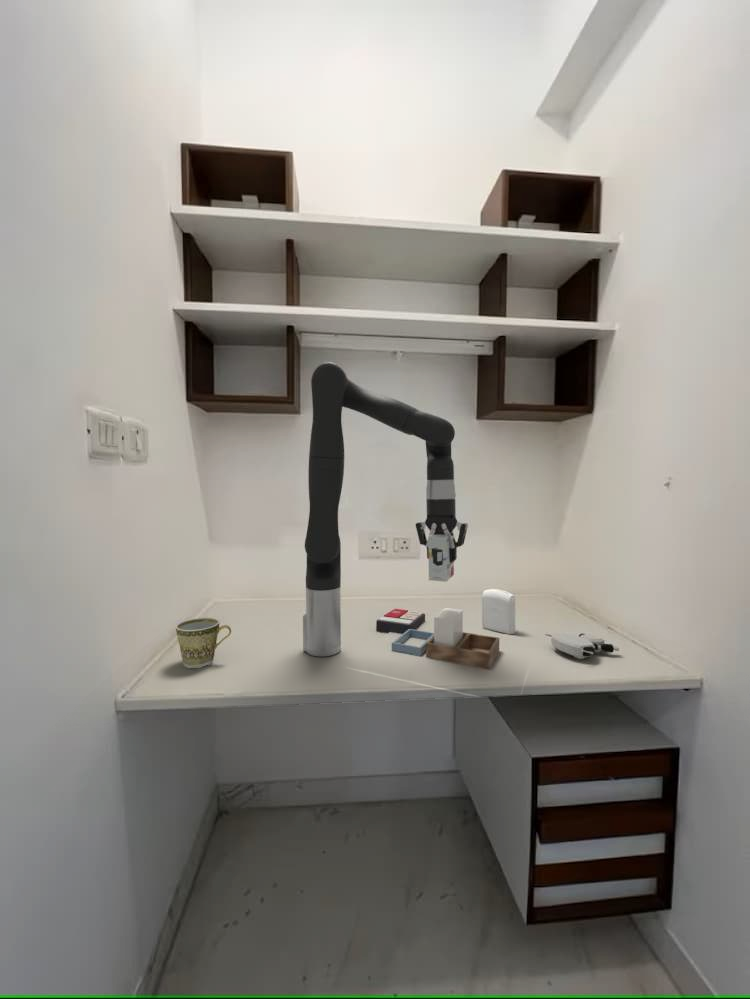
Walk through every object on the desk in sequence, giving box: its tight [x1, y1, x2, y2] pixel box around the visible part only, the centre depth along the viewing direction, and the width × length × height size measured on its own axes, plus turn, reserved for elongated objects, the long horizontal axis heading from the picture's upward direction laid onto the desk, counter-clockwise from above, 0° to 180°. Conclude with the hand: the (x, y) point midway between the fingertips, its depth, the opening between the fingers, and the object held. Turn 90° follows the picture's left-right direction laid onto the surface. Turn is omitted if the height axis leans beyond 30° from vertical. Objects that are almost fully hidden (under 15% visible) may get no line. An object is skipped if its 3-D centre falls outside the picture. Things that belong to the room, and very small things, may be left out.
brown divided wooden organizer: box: [425, 632, 500, 670], centre depth 110 cm, size 16×12×4 cm
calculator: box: [375, 608, 426, 635], centre depth 133 cm, size 11×4×15 cm
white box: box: [433, 607, 464, 647], centre depth 111 cm, size 5×9×10 cm, turn 153°
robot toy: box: [544, 632, 620, 660], centre depth 112 cm, size 12×4×15 cm
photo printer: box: [481, 588, 516, 635], centre depth 129 cm, size 10×4×12 cm, turn 44°
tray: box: [391, 629, 434, 657], centre depth 116 cm, size 8×12×2 cm
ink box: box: [427, 534, 455, 583], centre depth 112 cm, size 9×5×12 cm, turn 156°
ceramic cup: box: [175, 617, 232, 670], centre depth 105 cm, size 13×10×10 cm
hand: (441, 561), depth 112 cm, fingers closed on ink box, 5 cm apart
